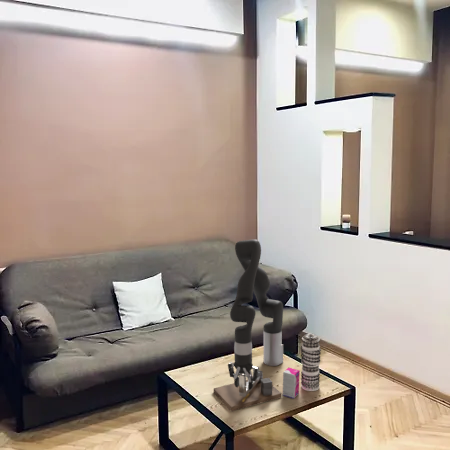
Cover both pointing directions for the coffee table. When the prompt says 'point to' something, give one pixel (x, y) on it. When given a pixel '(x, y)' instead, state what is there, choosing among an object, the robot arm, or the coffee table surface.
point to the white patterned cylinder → (310, 362)
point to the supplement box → (291, 383)
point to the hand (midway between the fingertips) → (243, 387)
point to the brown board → (255, 396)
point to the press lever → (244, 386)
